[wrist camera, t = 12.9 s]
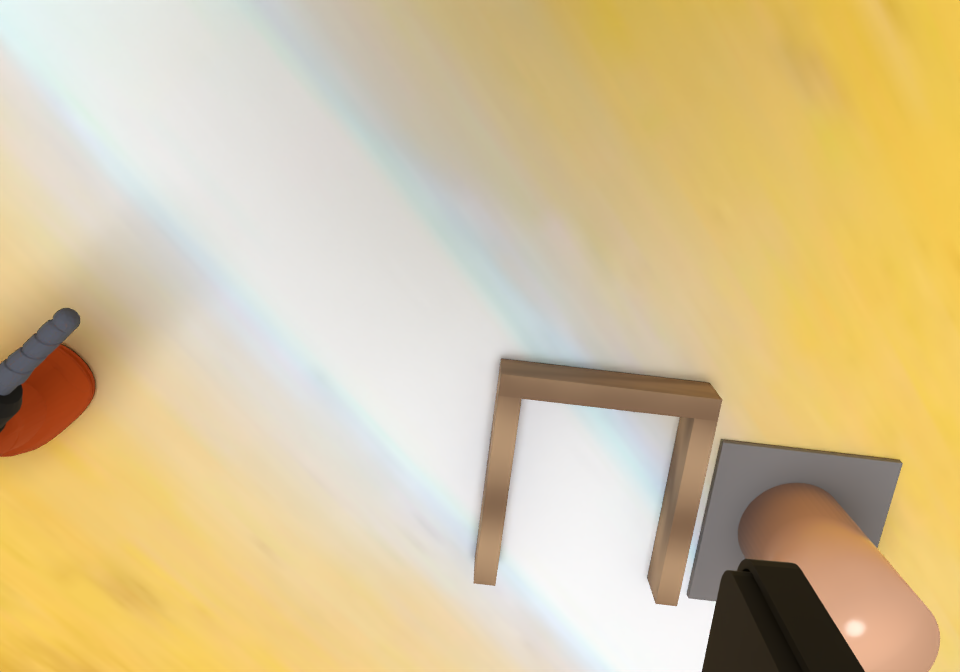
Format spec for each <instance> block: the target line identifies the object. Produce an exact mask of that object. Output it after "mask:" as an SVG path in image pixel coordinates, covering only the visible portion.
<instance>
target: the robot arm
mask: <svg viewBox="0 0 960 672" xmlns="http://www.w3.org/2000/svg"><path fill="white" fill-rule="evenodd" d="M702 672H865V671H864V669H863V667H862V666H861V664H860V663H859V661H858V659H857V658H856V656H855V655H854V653H853V651H852V650H851V648H850V647H849V645H848V643H847V642H846V640H845V639H844V637H843V635H842V634H841V632H840V631H839V629H838V627H837V626H836V624H835V623H834V621H833V619H832V618H831V616H830V615H829V613H828V611H827V610H826V608H825V607H824V605H823V603H822V602H821V600H820V599H819V597H818V595H817V594H816V592H815V591H814V589H813V587H812V586H811V584H810V583H809V581H808V579H807V578H806V576H805V575H804V573H803V572H802V570H801V569H800V567H799V566H798V565H797V564H795V563H791V562H779V561H768V560H756V559H744V560H742V561H741V563H740V564H739V566H738V569H737V571H734V570H726V571H725V572H724V573H723V575H722V578H721V581H720V586H719V591H718V596H717V600H716V605H715V610H714V615H713V620H712V625H711V630H710V635H709V639H708V644H707V649H706V654H705V659H704V664H703V669H702Z"/></svg>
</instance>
